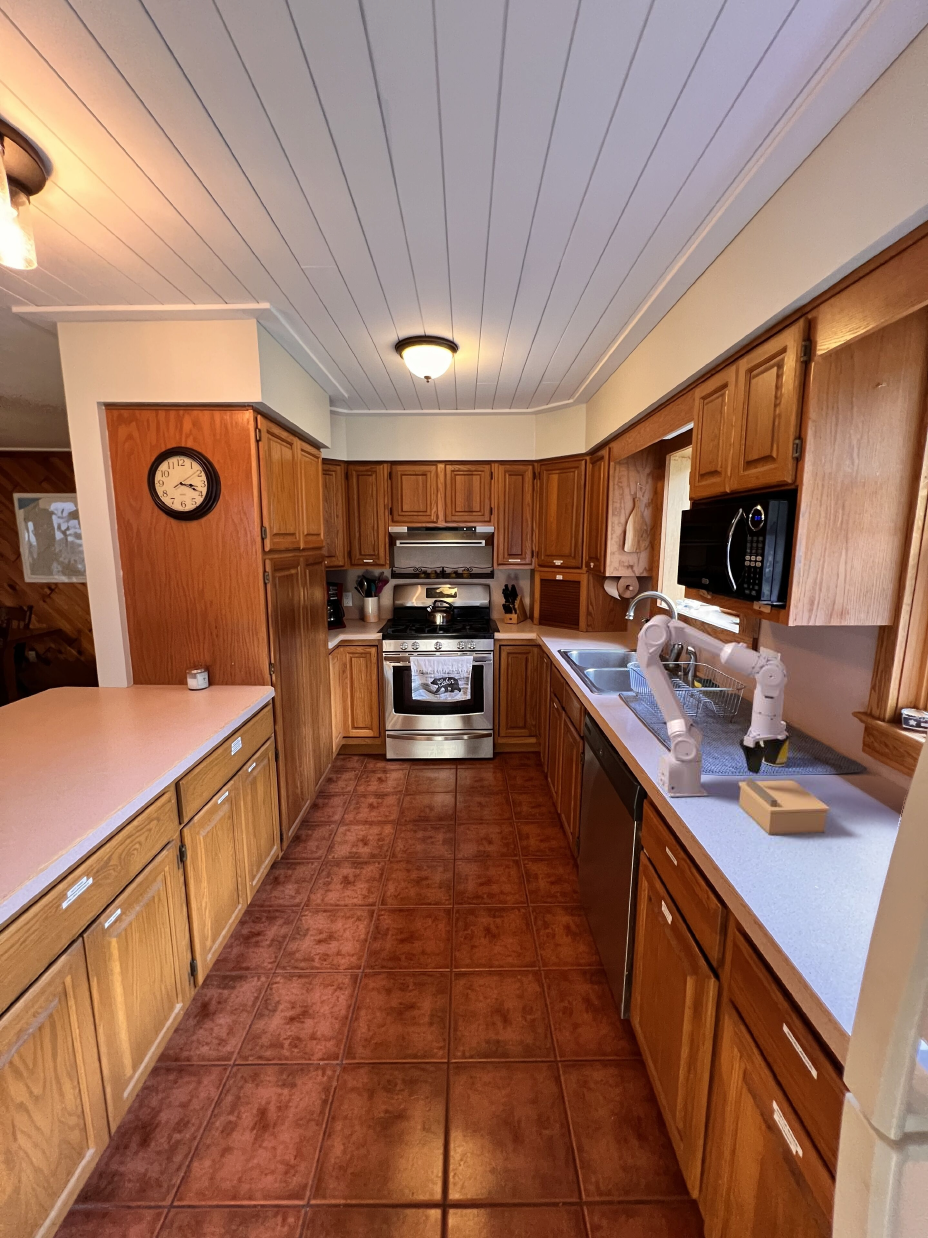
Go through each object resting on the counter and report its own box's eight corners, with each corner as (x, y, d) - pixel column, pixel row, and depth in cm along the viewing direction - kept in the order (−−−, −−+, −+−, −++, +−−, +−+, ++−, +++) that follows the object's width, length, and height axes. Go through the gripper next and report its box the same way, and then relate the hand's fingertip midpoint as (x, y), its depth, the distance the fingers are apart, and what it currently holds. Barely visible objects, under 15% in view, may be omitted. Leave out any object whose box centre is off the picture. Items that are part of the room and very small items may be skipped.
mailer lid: (770, 813, 103) (771, 804, 103) (738, 784, 115) (739, 776, 114) (829, 810, 104) (830, 801, 103) (792, 782, 115) (793, 774, 115)
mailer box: (768, 835, 105) (770, 813, 104) (739, 806, 116) (740, 786, 115) (824, 832, 105) (826, 811, 104) (789, 804, 116) (791, 784, 115)
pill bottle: (790, 768, 132) (794, 727, 130) (763, 766, 134) (767, 726, 131) (780, 757, 139) (784, 718, 136) (755, 756, 140) (758, 717, 138)
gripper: (770, 725, 104) (764, 784, 107) (801, 709, 112) (795, 765, 115) (736, 714, 110) (731, 771, 113) (768, 701, 118) (763, 754, 120)
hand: (761, 767), depth 114 cm, fingers open, 7 cm apart
